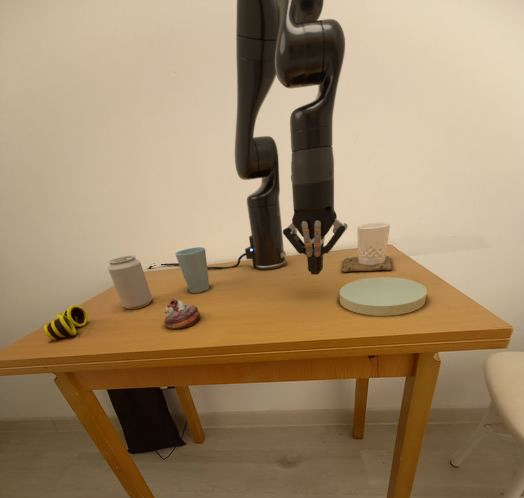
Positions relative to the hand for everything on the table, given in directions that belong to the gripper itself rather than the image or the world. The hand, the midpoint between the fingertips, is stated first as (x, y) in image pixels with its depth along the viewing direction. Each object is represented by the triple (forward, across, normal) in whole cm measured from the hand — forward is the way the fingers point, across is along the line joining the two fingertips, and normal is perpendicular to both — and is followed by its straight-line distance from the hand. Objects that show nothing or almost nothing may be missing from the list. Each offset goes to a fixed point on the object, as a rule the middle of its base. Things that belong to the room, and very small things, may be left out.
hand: (315, 273), depth 62 cm
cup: (+6, +34, -3) cm, 34 cm away
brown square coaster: (+5, -7, -24) cm, 26 cm away
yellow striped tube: (+6, +49, +26) cm, 56 cm away
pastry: (+6, +24, +16) cm, 30 cm away
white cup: (+6, -8, -25) cm, 27 cm away
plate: (+5, -13, 0) cm, 14 cm away
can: (+6, +44, +9) cm, 46 cm away
